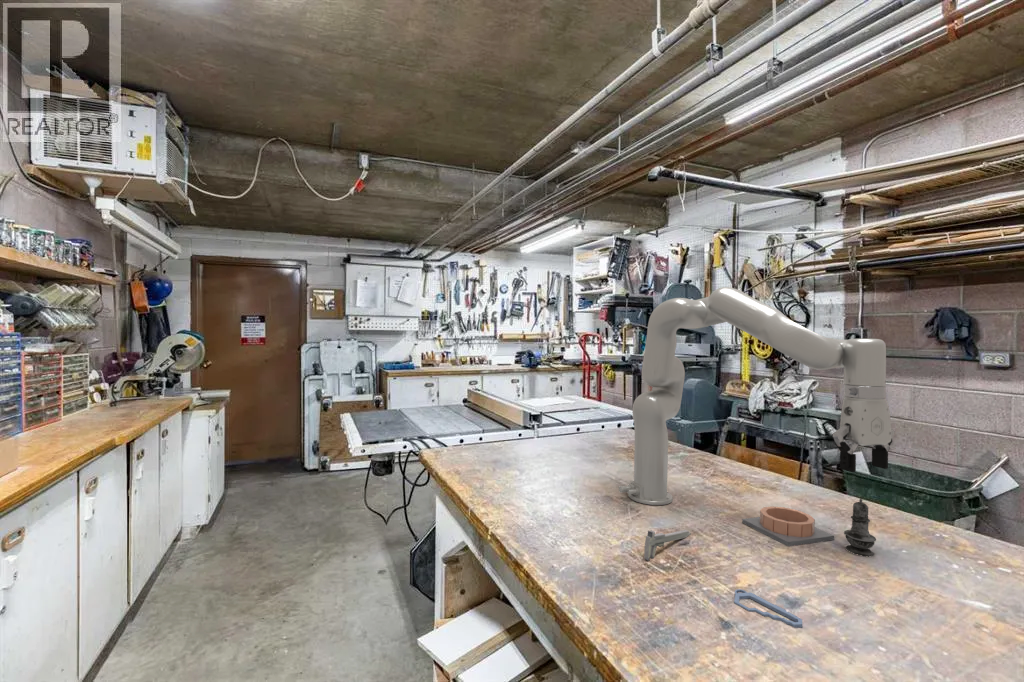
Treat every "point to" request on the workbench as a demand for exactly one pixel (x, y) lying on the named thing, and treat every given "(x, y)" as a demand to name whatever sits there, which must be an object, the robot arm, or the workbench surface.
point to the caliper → (660, 541)
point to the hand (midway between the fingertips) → (863, 468)
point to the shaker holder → (787, 526)
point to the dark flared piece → (860, 531)
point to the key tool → (774, 607)
